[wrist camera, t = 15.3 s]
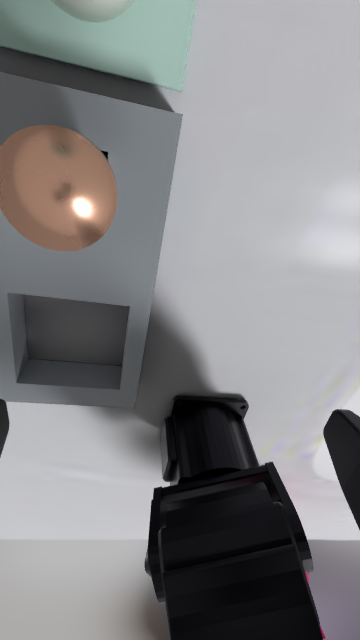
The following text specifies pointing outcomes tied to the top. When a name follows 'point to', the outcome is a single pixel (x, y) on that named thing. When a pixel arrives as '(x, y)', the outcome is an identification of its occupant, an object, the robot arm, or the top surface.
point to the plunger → (56, 187)
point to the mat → (106, 38)
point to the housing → (95, 260)
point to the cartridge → (94, 9)
